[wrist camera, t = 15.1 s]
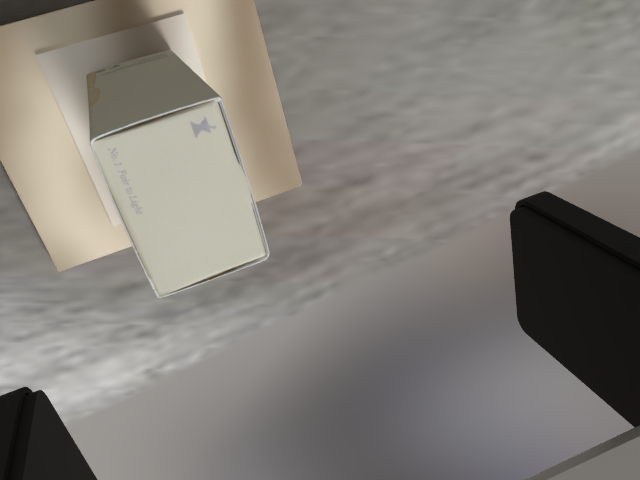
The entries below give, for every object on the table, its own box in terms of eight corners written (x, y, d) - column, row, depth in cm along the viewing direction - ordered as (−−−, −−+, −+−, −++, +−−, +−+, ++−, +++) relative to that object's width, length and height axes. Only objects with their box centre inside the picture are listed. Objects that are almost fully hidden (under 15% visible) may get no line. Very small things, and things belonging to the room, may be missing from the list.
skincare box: (84, 72, 28) (76, 131, 17) (175, 46, 28) (221, 87, 18) (133, 192, 30) (152, 305, 20) (214, 165, 31) (273, 260, 21)
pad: (239, -39, 29) (244, -40, 28) (297, 180, 35) (303, 186, 34) (-56, 40, 26) (-62, 43, 25) (59, 264, 32) (58, 273, 31)
